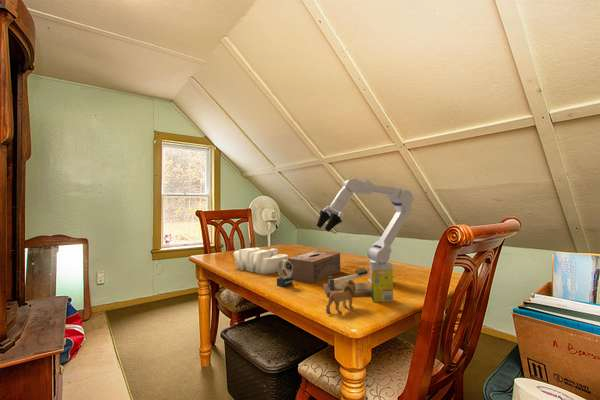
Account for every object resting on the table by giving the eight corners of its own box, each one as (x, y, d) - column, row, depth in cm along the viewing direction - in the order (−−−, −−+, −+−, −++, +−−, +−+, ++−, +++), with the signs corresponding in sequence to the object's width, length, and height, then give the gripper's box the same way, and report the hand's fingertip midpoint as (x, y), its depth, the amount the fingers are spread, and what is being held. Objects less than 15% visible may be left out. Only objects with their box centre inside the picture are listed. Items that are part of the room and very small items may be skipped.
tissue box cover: (317, 268, 156) (317, 250, 156) (340, 271, 147) (340, 252, 147) (288, 279, 135) (287, 258, 135) (313, 283, 126) (312, 261, 126)
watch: (286, 288, 120) (286, 262, 120) (274, 284, 125) (274, 259, 125) (295, 285, 124) (295, 260, 124) (283, 281, 129) (283, 257, 129)
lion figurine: (346, 301, 103) (346, 277, 103) (359, 305, 99) (359, 279, 99) (321, 314, 92) (321, 286, 92) (335, 318, 88) (334, 289, 88)
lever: (329, 286, 112) (329, 271, 112) (327, 282, 117) (327, 269, 117) (368, 285, 112) (368, 270, 112) (365, 281, 117) (365, 268, 117)
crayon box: (391, 299, 105) (390, 267, 105) (393, 301, 102) (393, 269, 102) (371, 299, 105) (370, 268, 105) (373, 302, 102) (373, 270, 102)
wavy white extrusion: (227, 267, 161) (226, 248, 161) (249, 262, 174) (248, 245, 174) (270, 276, 139) (270, 255, 139) (292, 270, 152) (291, 250, 152)
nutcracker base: (367, 286, 121) (367, 273, 121) (375, 295, 109) (375, 281, 109) (323, 287, 120) (323, 274, 120) (327, 296, 108) (326, 282, 108)
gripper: (325, 195, 127) (308, 220, 125) (342, 199, 114) (323, 226, 112) (335, 204, 130) (319, 228, 128) (353, 208, 116) (335, 236, 114)
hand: (322, 228), depth 120 cm, fingers open, 7 cm apart
